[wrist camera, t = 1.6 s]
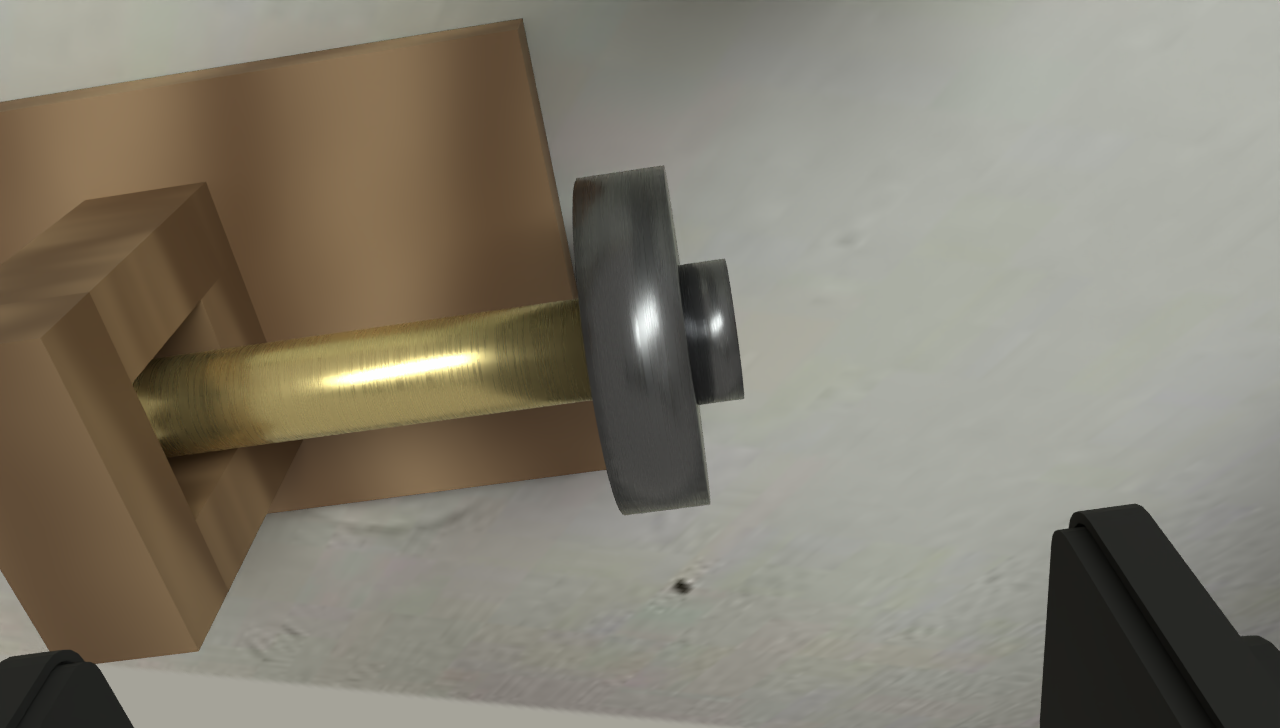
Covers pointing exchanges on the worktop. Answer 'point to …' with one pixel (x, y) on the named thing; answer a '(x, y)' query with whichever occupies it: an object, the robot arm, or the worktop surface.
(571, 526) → the worktop surface
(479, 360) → the brass peg with disc
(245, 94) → the eye post
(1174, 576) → the robot arm
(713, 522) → the worktop surface
